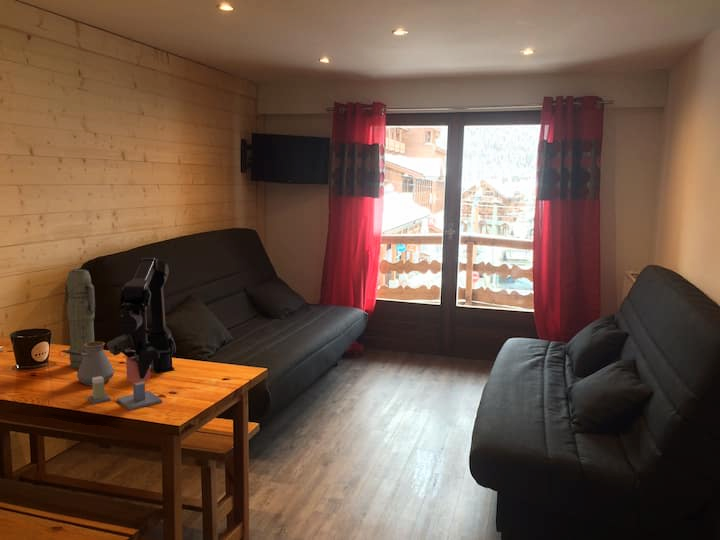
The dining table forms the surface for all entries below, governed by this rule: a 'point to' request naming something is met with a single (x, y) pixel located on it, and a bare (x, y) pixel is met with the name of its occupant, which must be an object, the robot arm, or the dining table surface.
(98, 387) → the grey base with block
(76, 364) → the grey figurine statue
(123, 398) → the grey plate with post
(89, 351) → the coffee pot
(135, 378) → the red rectangular block
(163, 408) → the dining table surface
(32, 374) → the dining table surface
